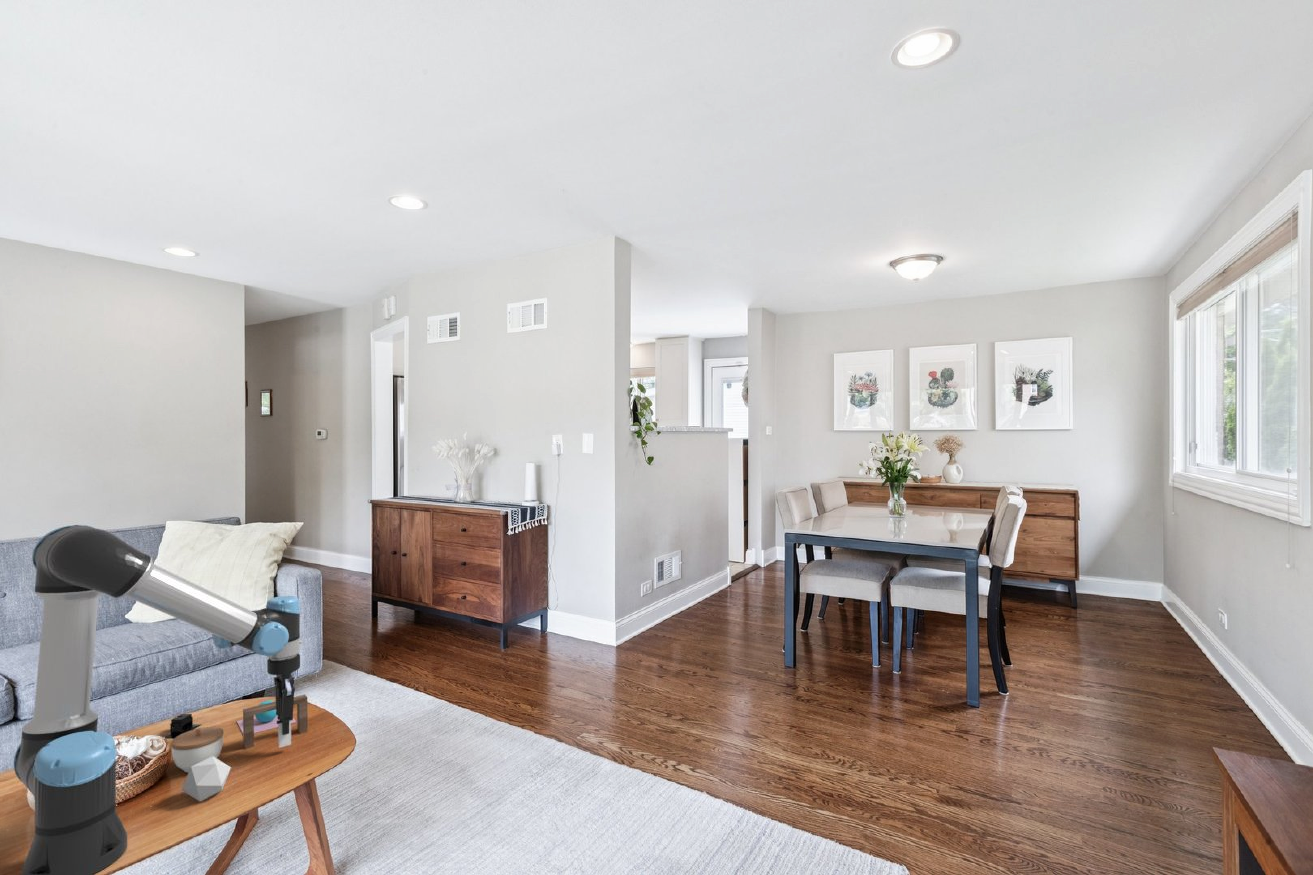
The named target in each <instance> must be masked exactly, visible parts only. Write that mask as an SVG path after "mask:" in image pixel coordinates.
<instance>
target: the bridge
mask: <svg viewBox="0 0 1313 875" xmlns="http://www.w3.org/2000/svg"><path fill="white" fill-rule="evenodd" d="M258 705H259V704H258ZM258 705H255V706H252V707H247V708H244V709H242V713H243V714H242V717H243V718H242V720H243V733H242V735H243V737H242V738H243V741H242V742H243V744H242V746H243V747H244V749H245V750H247V749H250V748H254V747H255V734H254V717H255V715H256V714H260V713H264V712H268V711H272V710H276V700H275V701H274V702H271V703H267V704H263V705H259V706H258ZM294 705H295V706H296V723H297V725H296V726H297V727H296V731H297V732H298V733H299V734H303V733H308V730H309V729H308V724H309V722H308V718H309V716H308V696H307V695H306V694H304V693H303V694H301V695H295V696H294V704H293V706H294Z"/></svg>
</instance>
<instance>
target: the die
mask: <svg viewBox="0 0 1313 875" xmlns="http://www.w3.org/2000/svg"><path fill="white" fill-rule="evenodd" d="M231 769H232V767H231V766H230V765H228V764H226V763H225V762H223V761H222V760H220V759H219V758H218V757H217V758H215V757H213V756H212V757H210V758H208V759H206V760H204V761H202V762H200V763H197V764H195V765H193V766H191V768H190V771H189V772H187V775H186V779H185V780H184V783H183V785H182V788H181V791H182V792H183V793H185V794H187V795H188V796H190V797H192V798H194V799H195V800H197V801H198V802H199V803H200V802H204V801H205V800H208V799H209V798H211V797H213V796H214V795H216V794H218V793H221V791H222V790H223V788H224V786H225V783H226V781H227V779H228V776H229V774H230V771H231Z"/></svg>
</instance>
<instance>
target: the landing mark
mask: <svg viewBox="0 0 1313 875" xmlns="http://www.w3.org/2000/svg"><path fill="white" fill-rule="evenodd" d="M277 717H278V715H277V716H276V717H275V718H274V719H273V720H271V721H269V722H260V721H258V720H257V719H256V717H255V716H254V735H255V734H259V733H262V732H265V731H270V730H273V729H278V724H277V721H278V719H277ZM236 723H237V725H238V727H239V729H240V732H241V733H242V734H243V719H239V720H236ZM296 723H297V719H295V717H293V720H291V725H292V724H296Z"/></svg>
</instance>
